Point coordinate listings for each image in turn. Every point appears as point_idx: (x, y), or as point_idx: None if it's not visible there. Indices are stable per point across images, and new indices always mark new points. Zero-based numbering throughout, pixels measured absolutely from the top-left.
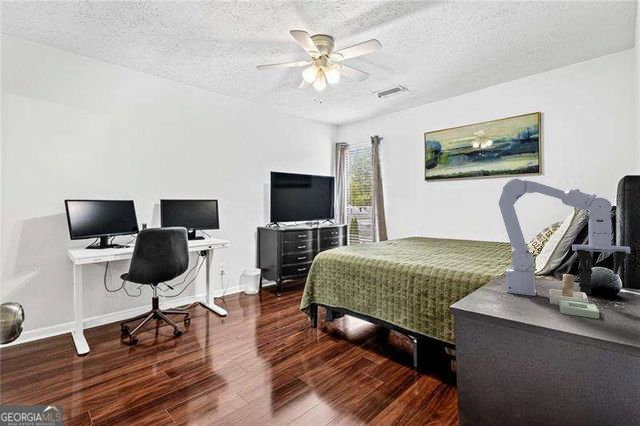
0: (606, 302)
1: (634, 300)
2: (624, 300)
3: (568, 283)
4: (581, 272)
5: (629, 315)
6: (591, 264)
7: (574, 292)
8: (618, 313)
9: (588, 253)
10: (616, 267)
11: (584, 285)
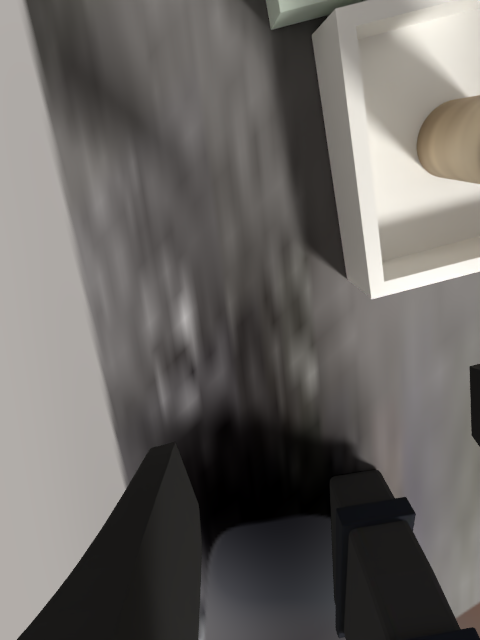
0: (238, 350)
1: None
2: None
3: None
4: (448, 618)
5: (66, 66)
6: None
7: (435, 265)
8: (131, 69)
9: None
10: (137, 516)
11: (381, 512)
